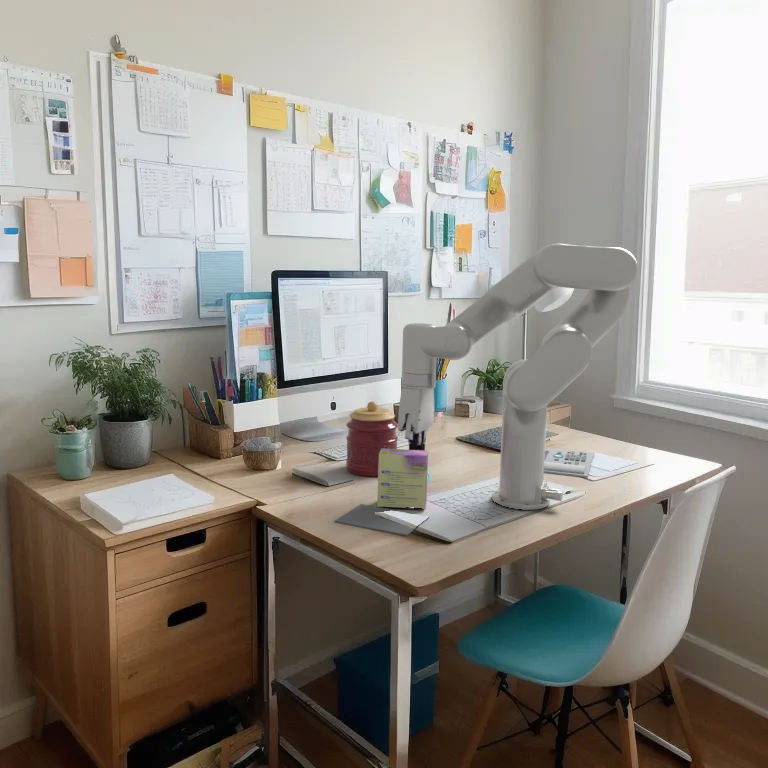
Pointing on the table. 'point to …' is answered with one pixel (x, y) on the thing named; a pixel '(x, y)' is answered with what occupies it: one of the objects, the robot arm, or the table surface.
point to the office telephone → (568, 462)
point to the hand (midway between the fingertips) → (416, 460)
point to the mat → (372, 520)
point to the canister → (369, 438)
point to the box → (402, 478)
